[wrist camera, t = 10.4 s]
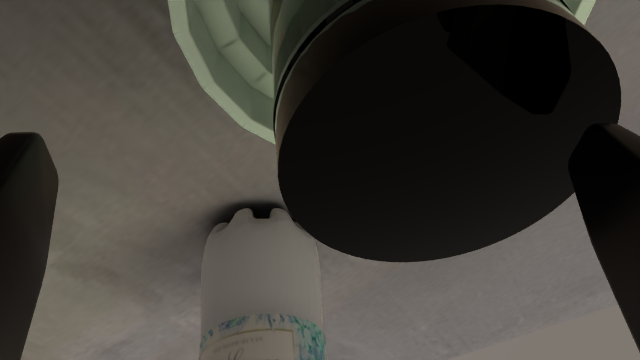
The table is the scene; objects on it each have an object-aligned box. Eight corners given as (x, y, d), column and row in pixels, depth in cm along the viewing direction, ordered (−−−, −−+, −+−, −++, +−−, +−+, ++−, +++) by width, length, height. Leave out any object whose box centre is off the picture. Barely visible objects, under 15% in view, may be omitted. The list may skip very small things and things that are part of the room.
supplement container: (475, -3, 19) (620, 205, 11) (312, 69, 20) (350, 292, 13) (431, -209, 14) (628, -78, 7) (223, -96, 16) (204, 109, 8)
